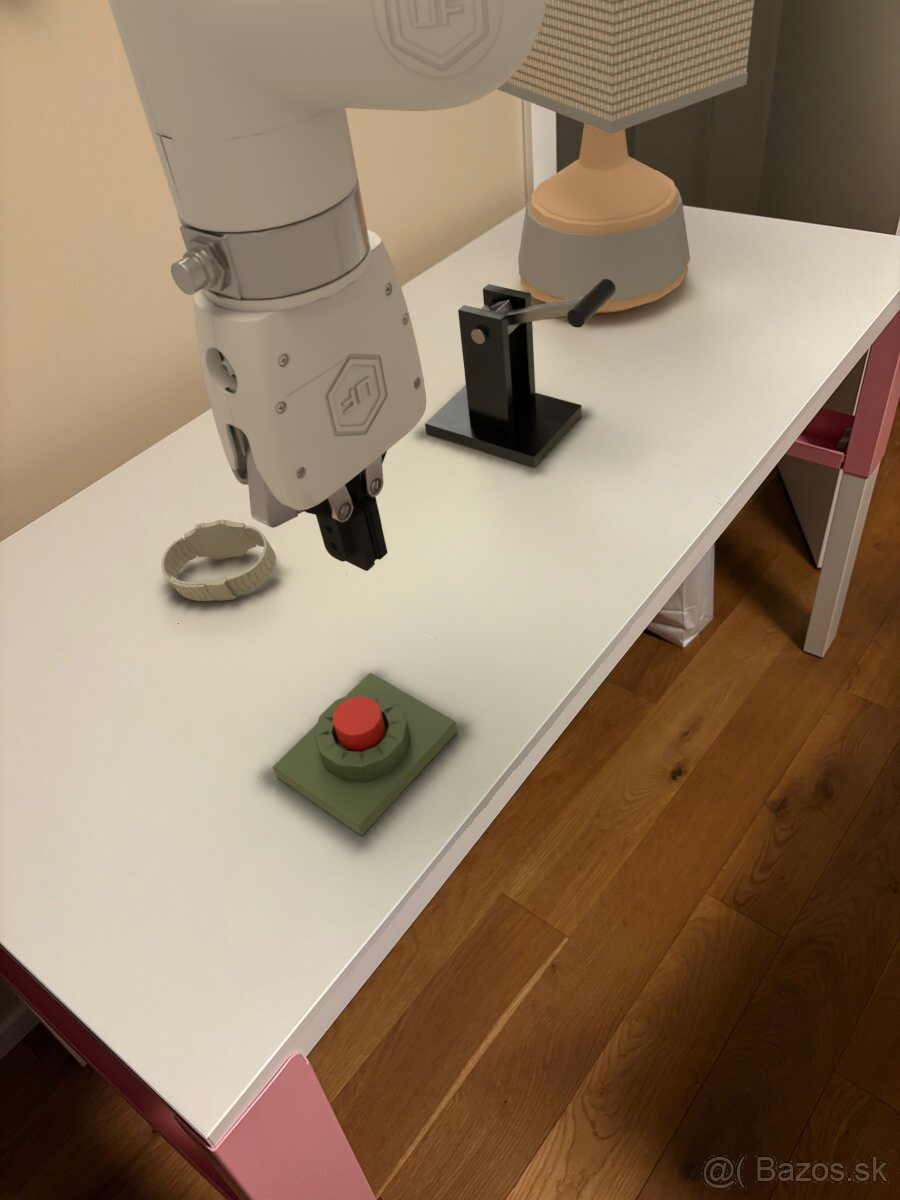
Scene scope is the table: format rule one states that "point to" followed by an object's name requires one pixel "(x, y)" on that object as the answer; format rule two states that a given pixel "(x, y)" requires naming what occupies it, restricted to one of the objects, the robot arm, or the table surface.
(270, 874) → the table surface
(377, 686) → the button box
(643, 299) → the desk lamp
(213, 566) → the table surface
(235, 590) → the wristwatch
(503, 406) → the bracket
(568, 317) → the lever
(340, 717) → the button
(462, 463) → the table surface
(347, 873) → the table surface
